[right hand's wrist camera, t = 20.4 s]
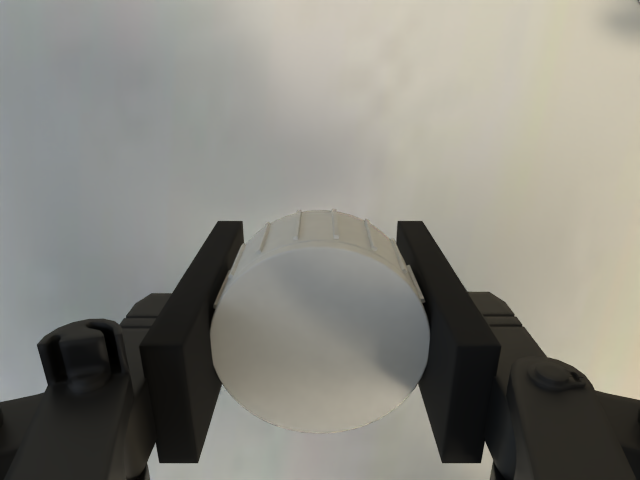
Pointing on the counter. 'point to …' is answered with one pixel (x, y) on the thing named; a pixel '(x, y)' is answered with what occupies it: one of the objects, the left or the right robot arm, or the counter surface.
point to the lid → (320, 324)
